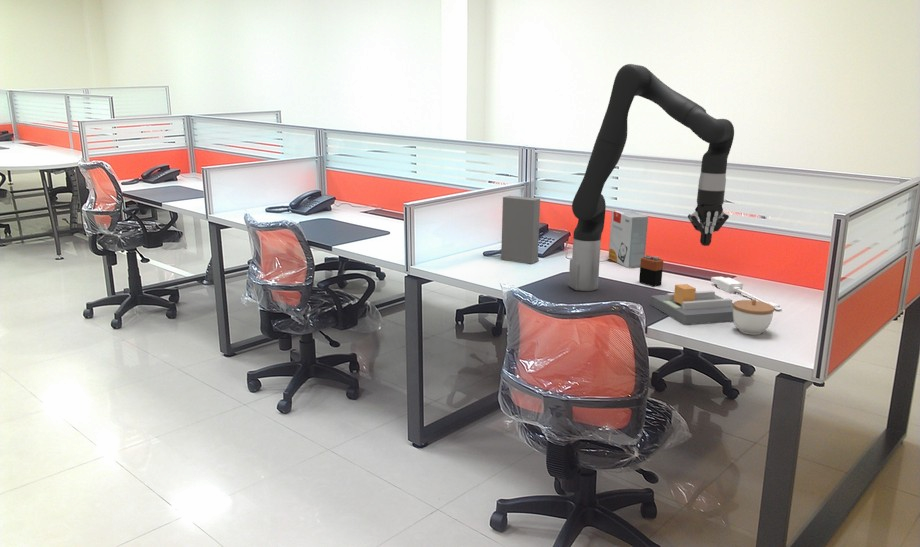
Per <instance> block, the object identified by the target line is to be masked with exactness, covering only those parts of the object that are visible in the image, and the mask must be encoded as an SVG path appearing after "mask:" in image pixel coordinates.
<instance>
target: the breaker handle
mask: <svg viewBox="0 0 920 547" xmlns="http://www.w3.org/2000/svg"><path fill="white" fill-rule="evenodd" d="M696 290H697V289H696V287H694V286H692V285H690V284H687V283H685V284H684V283H683V284H682V283H681V284H675V285H674V292H673V293H674V301H676V302H677V303H679V304H681V305H682V302H686V301H695V292H697V291H696Z"/></svg>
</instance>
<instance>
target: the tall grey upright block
mask: <svg viewBox="0 0 920 547" xmlns="http://www.w3.org/2000/svg"><path fill="white" fill-rule="evenodd" d="M540 211H541V198H535V197H526V196H525V197H524V196H517V195H506V196H503V197H502V216H501V217H502V218H501V219H502V220H501V246H500V248H501V249H500V250H501V251H500V252H501V253H500V260H503V261H505V260H506V261H512V262H517V263H518V262H519V263H525V264H529V265H532V264H535V263H537V262H539V260H540V258H539V256H538V254H539V239H540V238H539V237H540V235H539V234H540Z"/></svg>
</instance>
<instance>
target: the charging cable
mask: <svg viewBox="0 0 920 547" xmlns="http://www.w3.org/2000/svg"><path fill="white" fill-rule="evenodd" d="M710 282H711V283H712V284H715V285H716V288H718V289H720V290H722V291H724V292H726V293H728V294H731V293H741V294H744V295H745V296H748V297H751V298H752V299H755V300H756V301H760V302H764V303H767V304H770V305H772V306H773V307H774V311H782V310H783V308H781V307H780V305H779V304H777V303H775V302H770V301H769V302H767V301H765V300H764V299H761V298H759V297H756V296H755V295H754V294H751V293H749V292H747V291H745V290H743V286H744V284H743V283H742V282H740V281H738V280H736V279H734V278H731V277H724V276H711V278H710Z"/></svg>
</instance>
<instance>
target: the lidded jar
mask: <svg viewBox="0 0 920 547" xmlns="http://www.w3.org/2000/svg"><path fill="white" fill-rule="evenodd" d="M732 303H733V320H734V321H733V323H734V325H735V326H736V327H737V329H738V331H739V332H740V333H742V334H746V335H751V336H758V335H762V333H764V332H765V331H766V330H767V329H768V328H769V327H770V325H771V323H772V322H773V321H772V320H773V316H774V311H775V310H774V307H773V306H772V305H770V304H767V303H764V302H760V301H758V300H756V299H754V298H752V300H751V299H740V300H736V301H734V302H732Z"/></svg>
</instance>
